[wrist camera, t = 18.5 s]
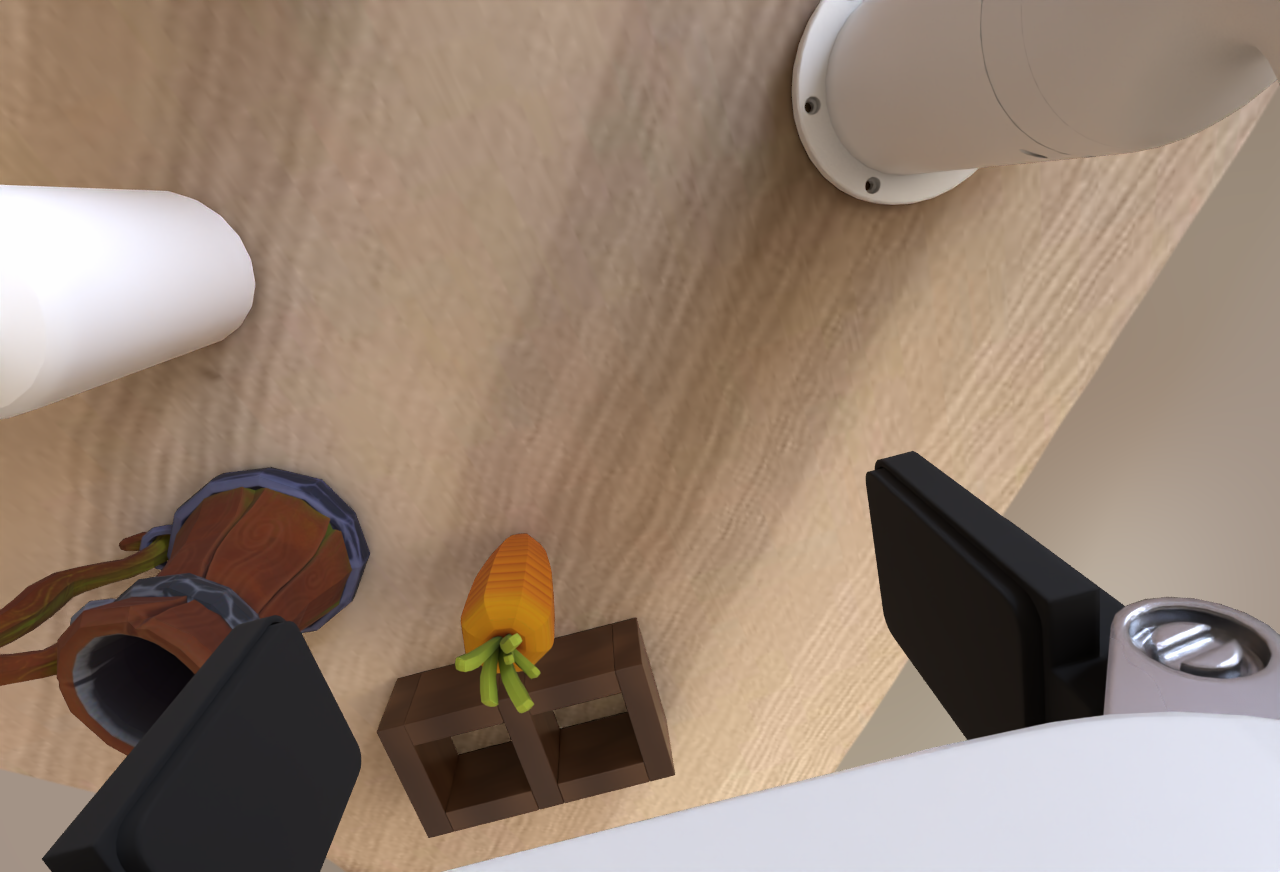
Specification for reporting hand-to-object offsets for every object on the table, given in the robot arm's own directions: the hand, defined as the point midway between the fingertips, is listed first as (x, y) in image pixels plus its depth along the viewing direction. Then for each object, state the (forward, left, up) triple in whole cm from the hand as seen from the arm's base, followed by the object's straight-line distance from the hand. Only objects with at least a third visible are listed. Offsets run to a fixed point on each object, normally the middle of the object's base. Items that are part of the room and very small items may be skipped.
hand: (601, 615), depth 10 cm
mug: (+26, +8, -31) cm, 41 cm away
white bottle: (+21, -8, -31) cm, 38 cm away
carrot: (+8, +13, -31) cm, 34 cm away
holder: (+11, +26, -30) cm, 41 cm away
